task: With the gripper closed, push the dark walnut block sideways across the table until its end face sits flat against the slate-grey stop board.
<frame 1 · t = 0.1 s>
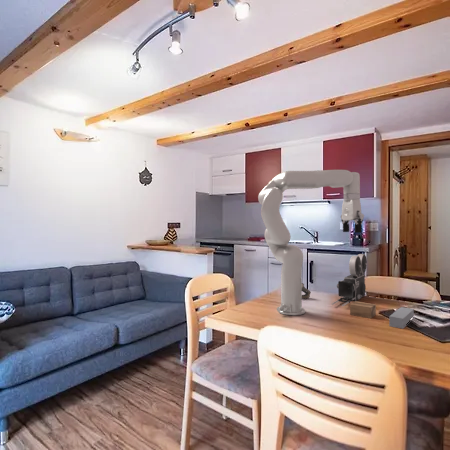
hand: (351, 232, 157), 37 cm above the table, tool pointing down, fingers open, 9 cm apart
futuristic pistol: (295, 298, 177), on the table
walnut block: (362, 315, 145), on the table
film camera: (349, 300, 172), on the table
stop board: (402, 321, 134), on the table
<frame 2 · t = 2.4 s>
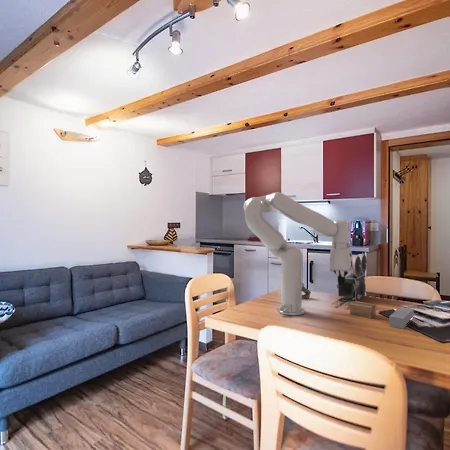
hand: (341, 284, 152), 12 cm above the table, tool pointing down, fingers closed
nothing on the table moved.
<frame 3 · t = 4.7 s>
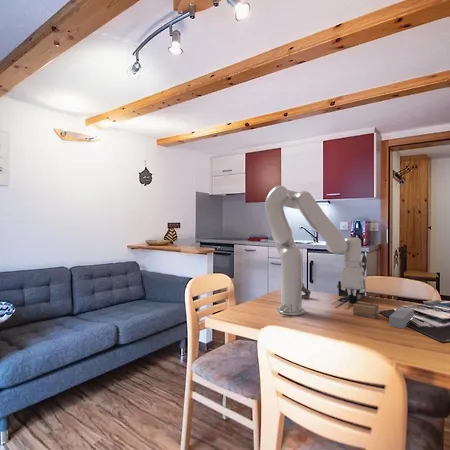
hand: (353, 303, 148), 4 cm above the table, tool pointing down, fingers closed
walnut block: (365, 315, 144), on the table
everything else where it was.
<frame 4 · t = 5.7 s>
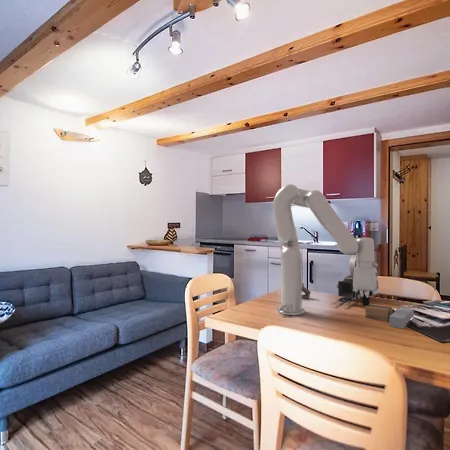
hand: (365, 305, 144), 4 cm above the table, tool pointing down, fingers closed
walnut block: (378, 318, 140), on the table, touching gripper
everything else where it was.
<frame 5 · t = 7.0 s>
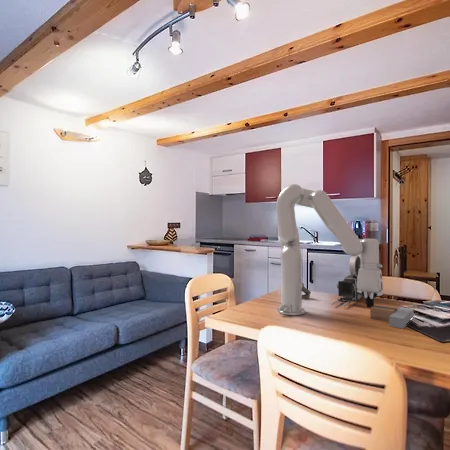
hand: (369, 306, 143), 4 cm above the table, tool pointing down, fingers closed
walnut block: (383, 319, 139), on the table
everything else where it was.
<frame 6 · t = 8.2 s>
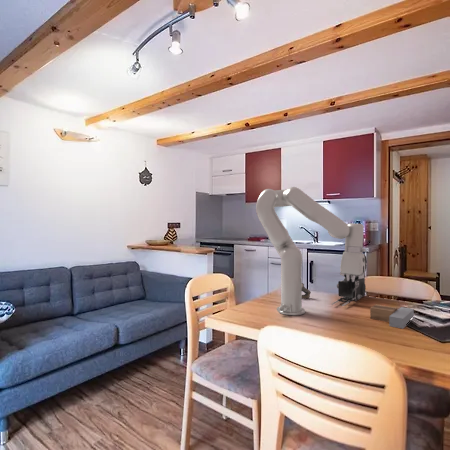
hand: (350, 289, 147), 11 cm above the table, tool pointing down, fingers closed
nothing on the table moved.
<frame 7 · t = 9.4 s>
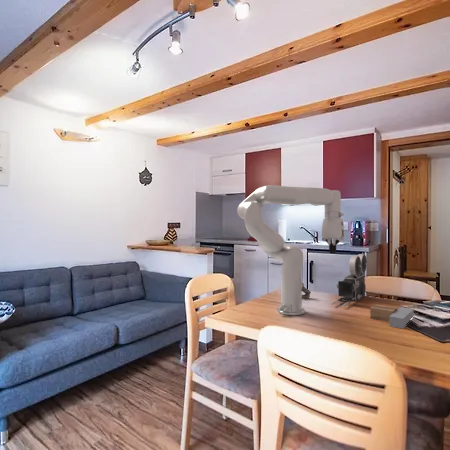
hand: (332, 253, 156), 27 cm above the table, tool pointing down, fingers closed
nothing on the table moved.
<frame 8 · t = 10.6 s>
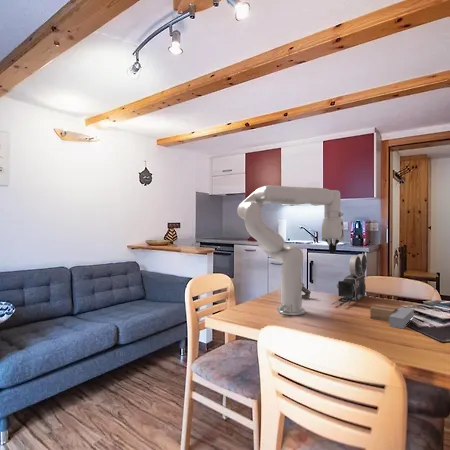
hand: (332, 252, 156), 27 cm above the table, tool pointing down, fingers closed
nothing on the table moved.
at the end: walnut block 0.1 cm from the target spot on the table beside the stop board, on the table; walnut block tilted 0° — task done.
